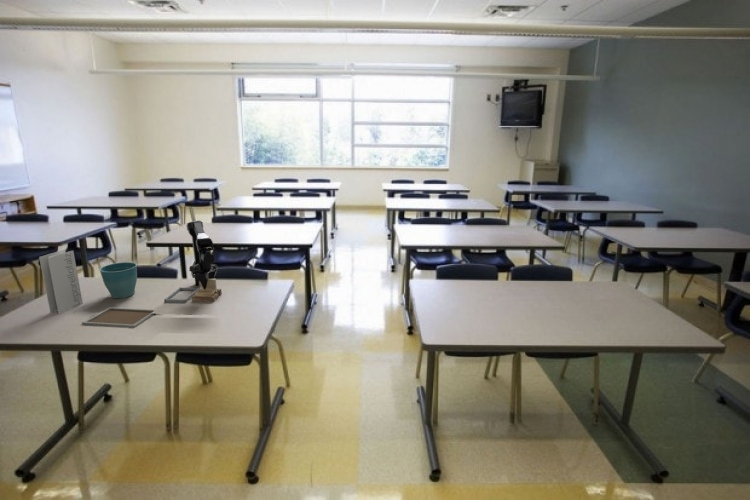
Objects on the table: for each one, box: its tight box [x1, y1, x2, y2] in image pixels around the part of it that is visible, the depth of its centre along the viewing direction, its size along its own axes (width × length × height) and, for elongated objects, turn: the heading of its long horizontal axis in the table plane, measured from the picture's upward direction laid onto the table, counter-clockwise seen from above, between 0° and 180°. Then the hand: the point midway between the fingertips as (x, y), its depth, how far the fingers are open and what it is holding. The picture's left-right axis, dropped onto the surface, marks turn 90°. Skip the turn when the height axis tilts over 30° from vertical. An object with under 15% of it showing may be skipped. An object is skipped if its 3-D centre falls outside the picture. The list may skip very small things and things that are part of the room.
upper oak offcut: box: [195, 290, 215, 297], centre depth 234 cm, size 4×9×2 cm, turn 90°
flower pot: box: [99, 261, 138, 299], centre depth 242 cm, size 18×18×17 cm
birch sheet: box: [198, 278, 218, 292], centre depth 239 cm, size 2×9×10 cm, turn 90°
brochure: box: [38, 249, 83, 315], centre depth 221 cm, size 14×6×30 cm, turn 168°
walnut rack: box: [191, 288, 222, 303], centre depth 238 cm, size 12×12×4 cm
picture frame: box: [81, 306, 157, 328], centre depth 214 cm, size 19×2×30 cm
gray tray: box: [163, 286, 200, 303], centre depth 240 cm, size 19×12×3 cm, turn 0°
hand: (207, 286), depth 239 cm, fingers open, 9 cm apart
